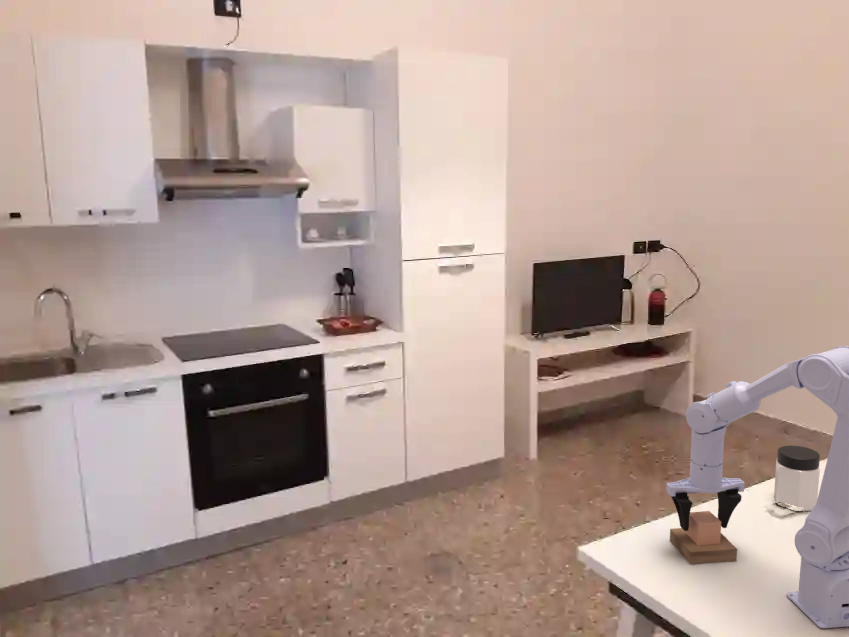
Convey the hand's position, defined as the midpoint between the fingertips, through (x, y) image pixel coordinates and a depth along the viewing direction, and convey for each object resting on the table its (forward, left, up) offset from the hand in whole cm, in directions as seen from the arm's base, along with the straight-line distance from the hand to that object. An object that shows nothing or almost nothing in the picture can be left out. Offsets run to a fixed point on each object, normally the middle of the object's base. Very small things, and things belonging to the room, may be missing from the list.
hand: (703, 527), depth 134 cm
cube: (0, 0, -2) cm, 2 cm away
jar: (+16, -29, -5) cm, 34 cm away
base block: (0, 0, -5) cm, 5 cm away
